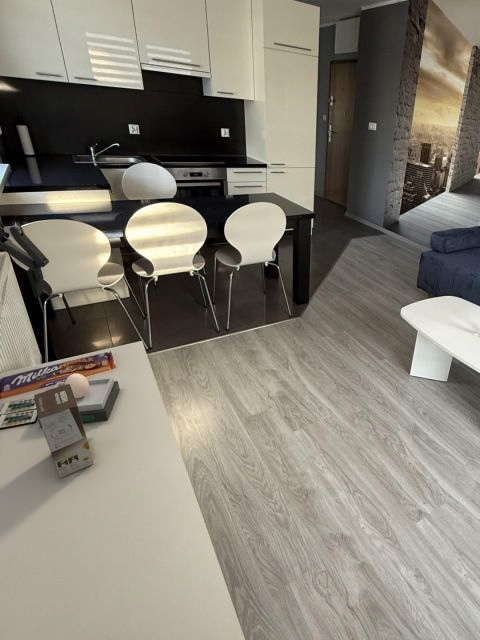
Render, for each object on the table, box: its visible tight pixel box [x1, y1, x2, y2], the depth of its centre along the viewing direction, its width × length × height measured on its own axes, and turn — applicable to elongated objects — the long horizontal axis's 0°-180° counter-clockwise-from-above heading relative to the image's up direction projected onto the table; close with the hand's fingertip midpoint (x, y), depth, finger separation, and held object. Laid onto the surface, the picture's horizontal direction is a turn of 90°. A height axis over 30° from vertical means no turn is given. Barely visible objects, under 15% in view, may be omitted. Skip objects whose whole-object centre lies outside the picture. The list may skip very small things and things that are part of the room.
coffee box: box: [33, 384, 94, 479], centre depth 83 cm, size 9×6×16 cm
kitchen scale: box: [37, 377, 121, 429], centre depth 99 cm, size 14×12×5 cm
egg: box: [64, 373, 89, 398], centre depth 97 cm, size 5×5×7 cm
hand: (3, 296), depth 90 cm, fingers open, 13 cm apart
